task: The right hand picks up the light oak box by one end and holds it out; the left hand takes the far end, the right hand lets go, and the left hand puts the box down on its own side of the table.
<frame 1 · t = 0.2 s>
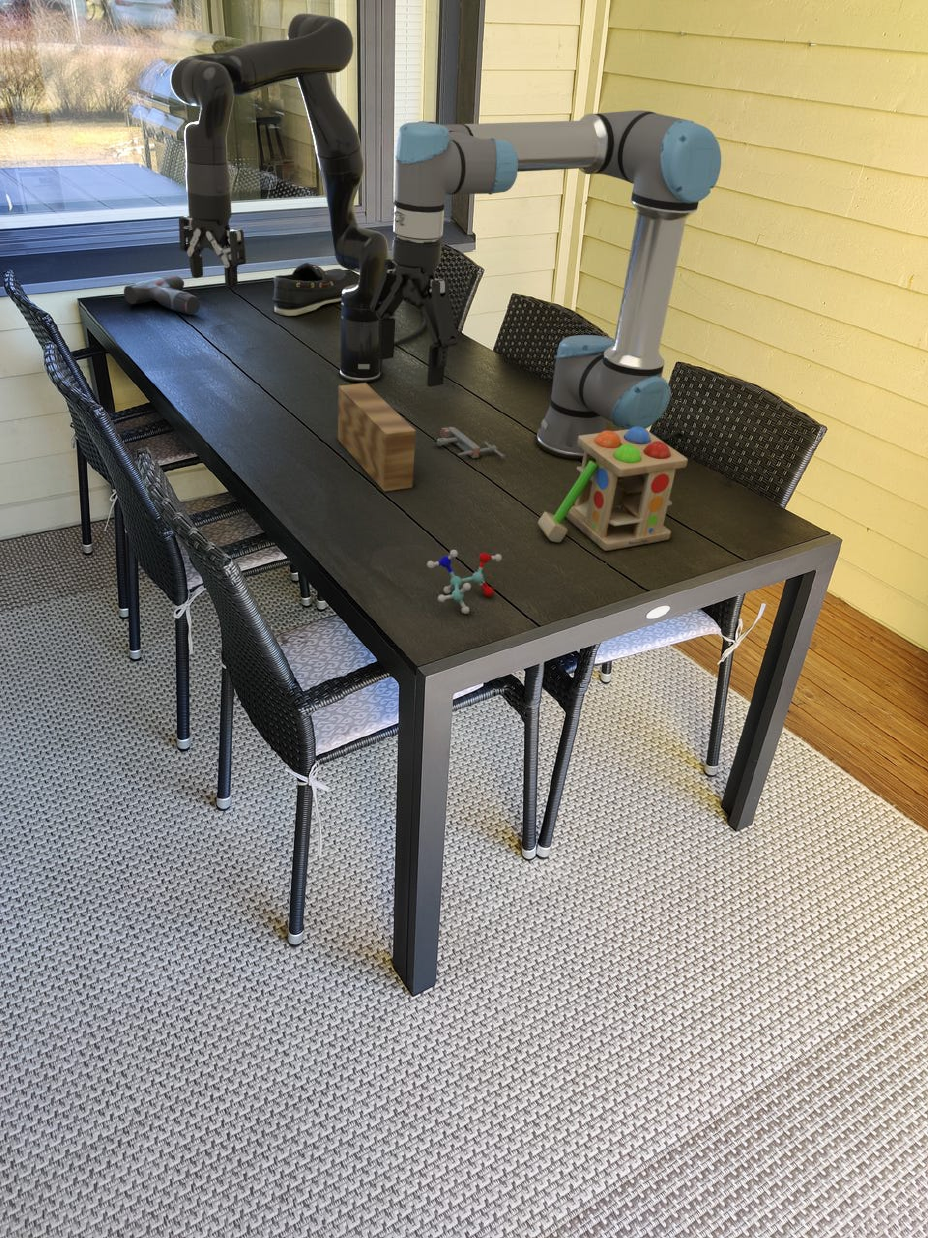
left hand: (214, 281, 182), 30 cm above the table, tool pointing down, fingers open, 8 cm apart
right hand: (409, 371, 161), 27 cm above the table, tool pointing down, fingers open, 13 cm apart
molecular model: (459, 598, 156), on the table
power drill: (177, 304, 264), on the table
clamp: (466, 451, 202), on the table
boat shoe: (313, 301, 276), on the table
pounding bench toy: (596, 531, 178), on the table
box: (373, 462, 194), on the table
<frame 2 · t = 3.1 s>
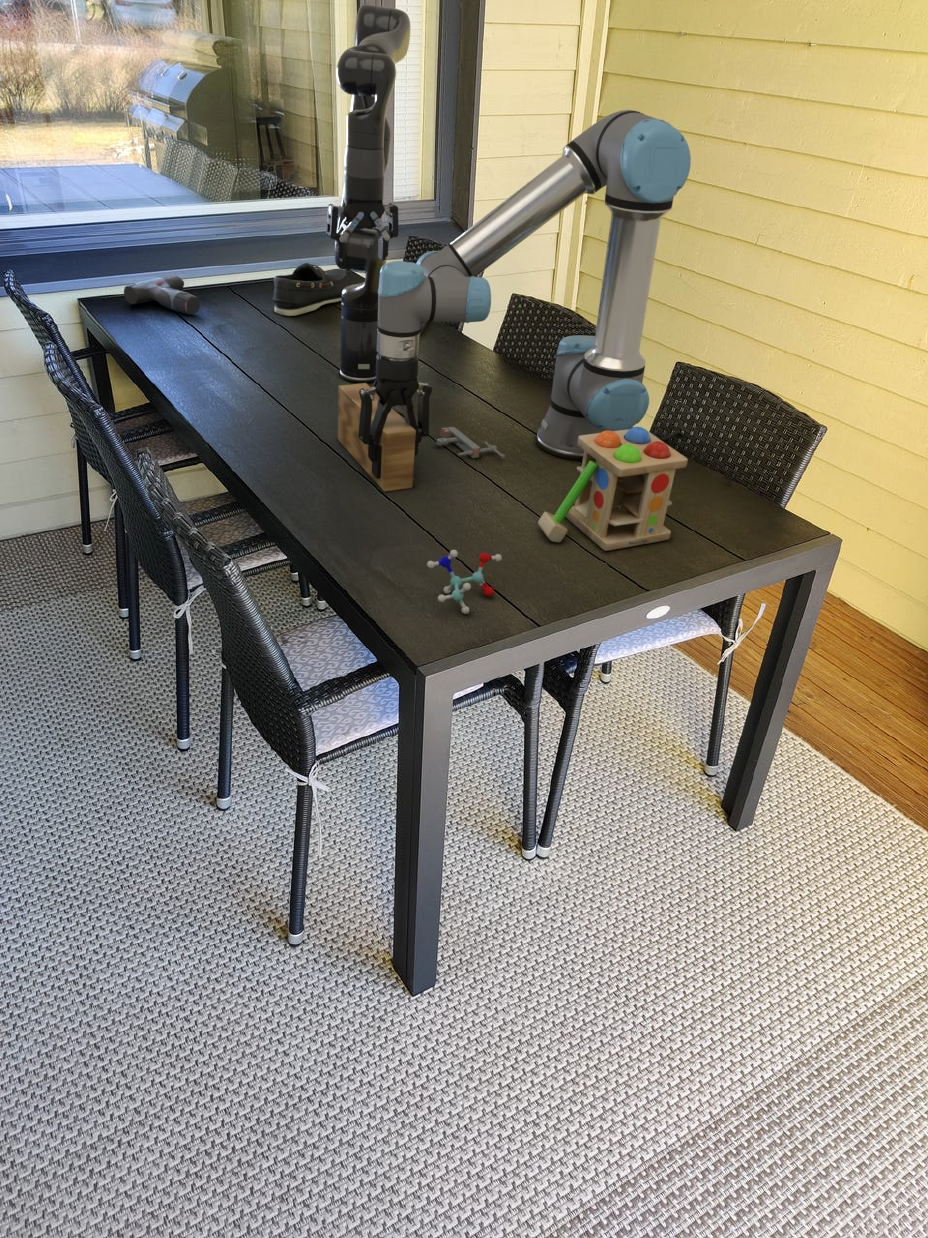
left hand: (362, 259, 196), 32 cm above the table, tool pointing down, fingers open, 8 cm apart
right hand: (392, 472, 186), 2 cm above the table, tool pointing down, fingers closed on box, 6 cm apart
box: (373, 462, 194), on the table, touching right hand
everything else where it was.
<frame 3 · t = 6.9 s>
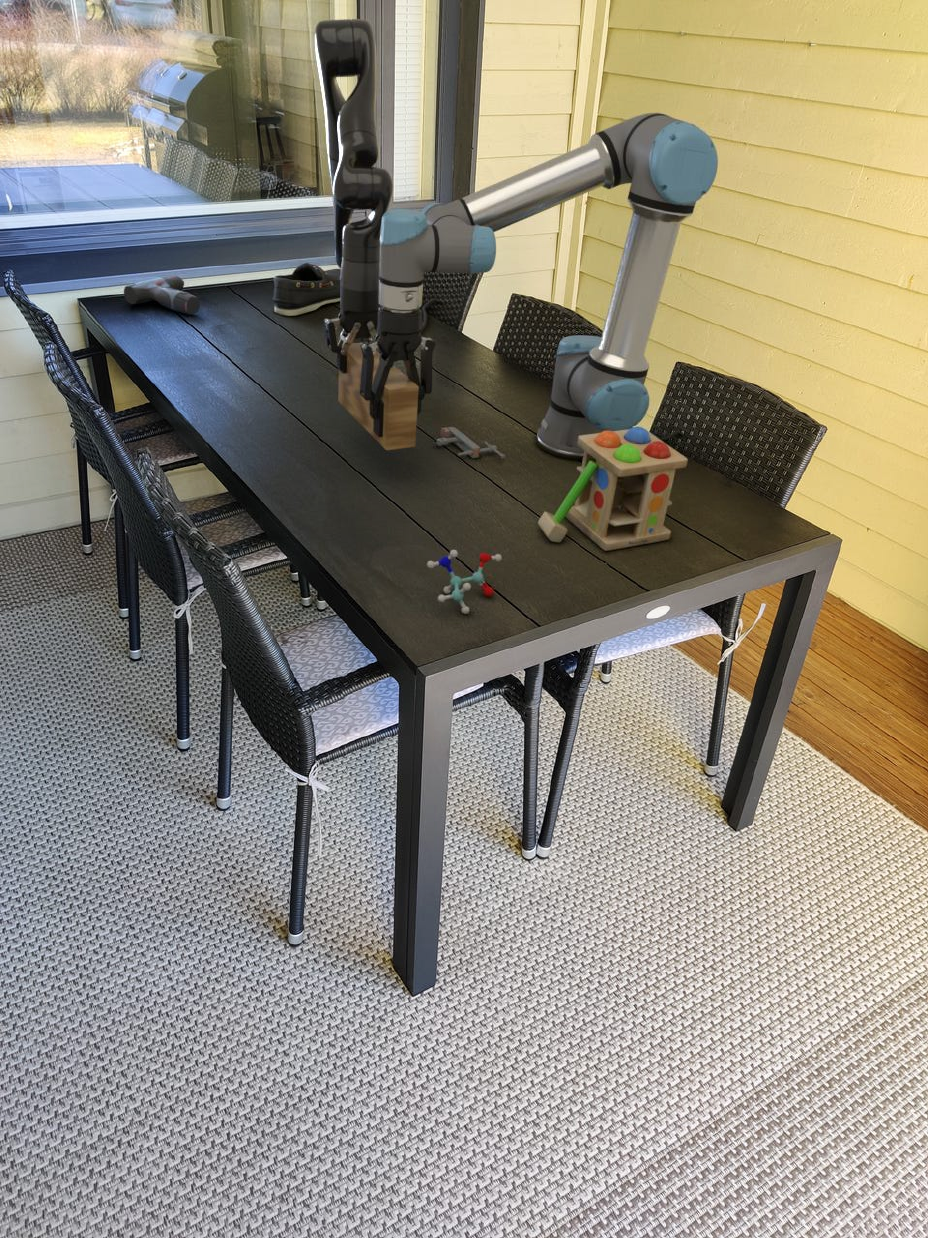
left hand: (358, 370, 191), 16 cm above the table, tool pointing down, fingers closed on box, 6 cm apart
right hand: (394, 431, 182), 10 cm above the table, tool pointing down, fingers closed on box, 6 cm apart
box: (375, 422, 189), point 8 cm above the table, touching left hand, right hand
everything else where it was.
when the right hand's fingers open (10 cm above the table, at t = 7.9 s): box stays where it is, held by the left hand.
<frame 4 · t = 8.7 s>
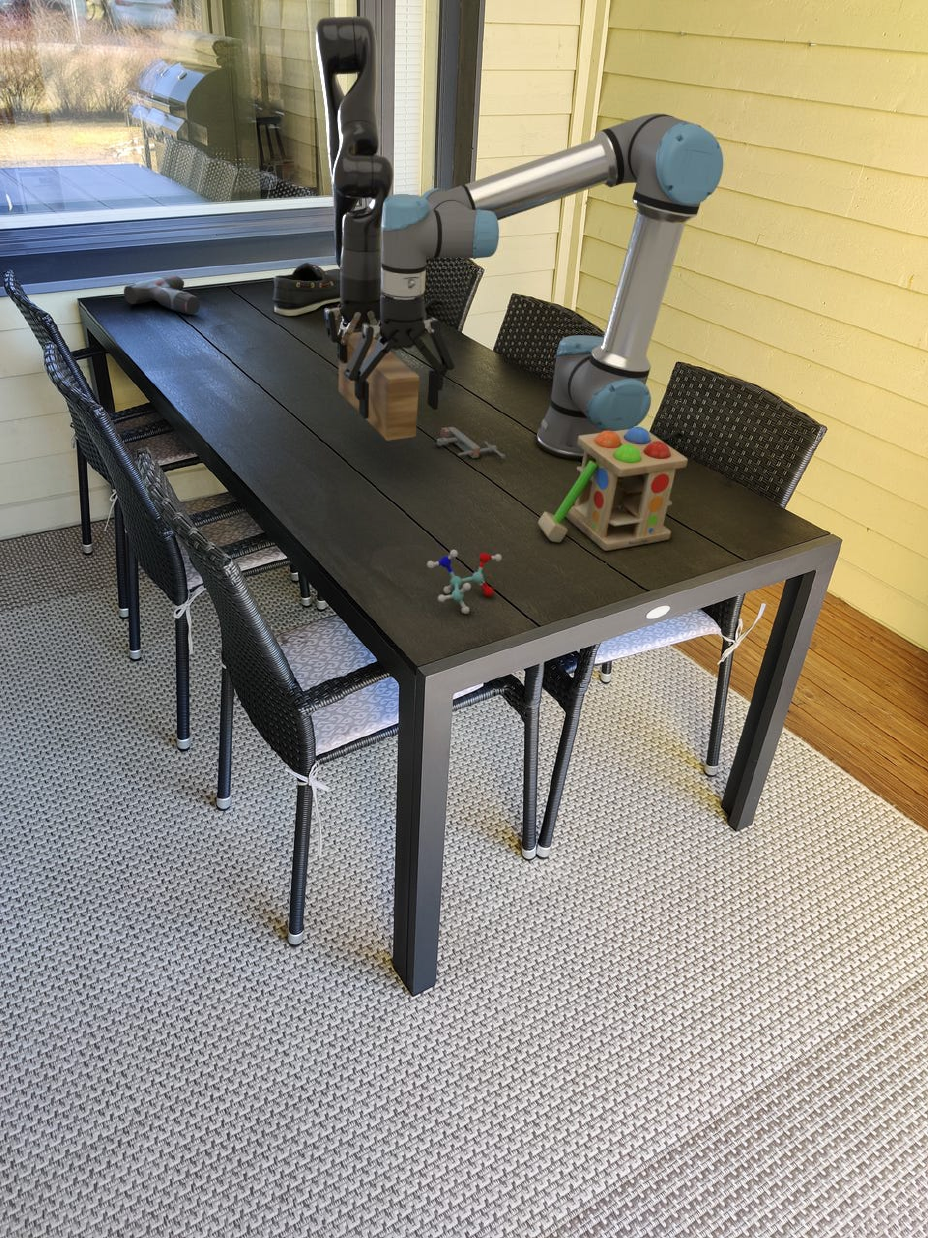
left hand: (359, 360, 190), 18 cm above the table, tool pointing down, fingers closed on box, 6 cm apart
right hand: (398, 411, 179), 15 cm above the table, tool pointing down, fingers open, 13 cm apart
box: (375, 413, 188), point 10 cm above the table, touching left hand
everything else where it was.
when the left hand's fingers open (9 cm above the table, at t = 16.1 s): box drops 2 cm, on the table.
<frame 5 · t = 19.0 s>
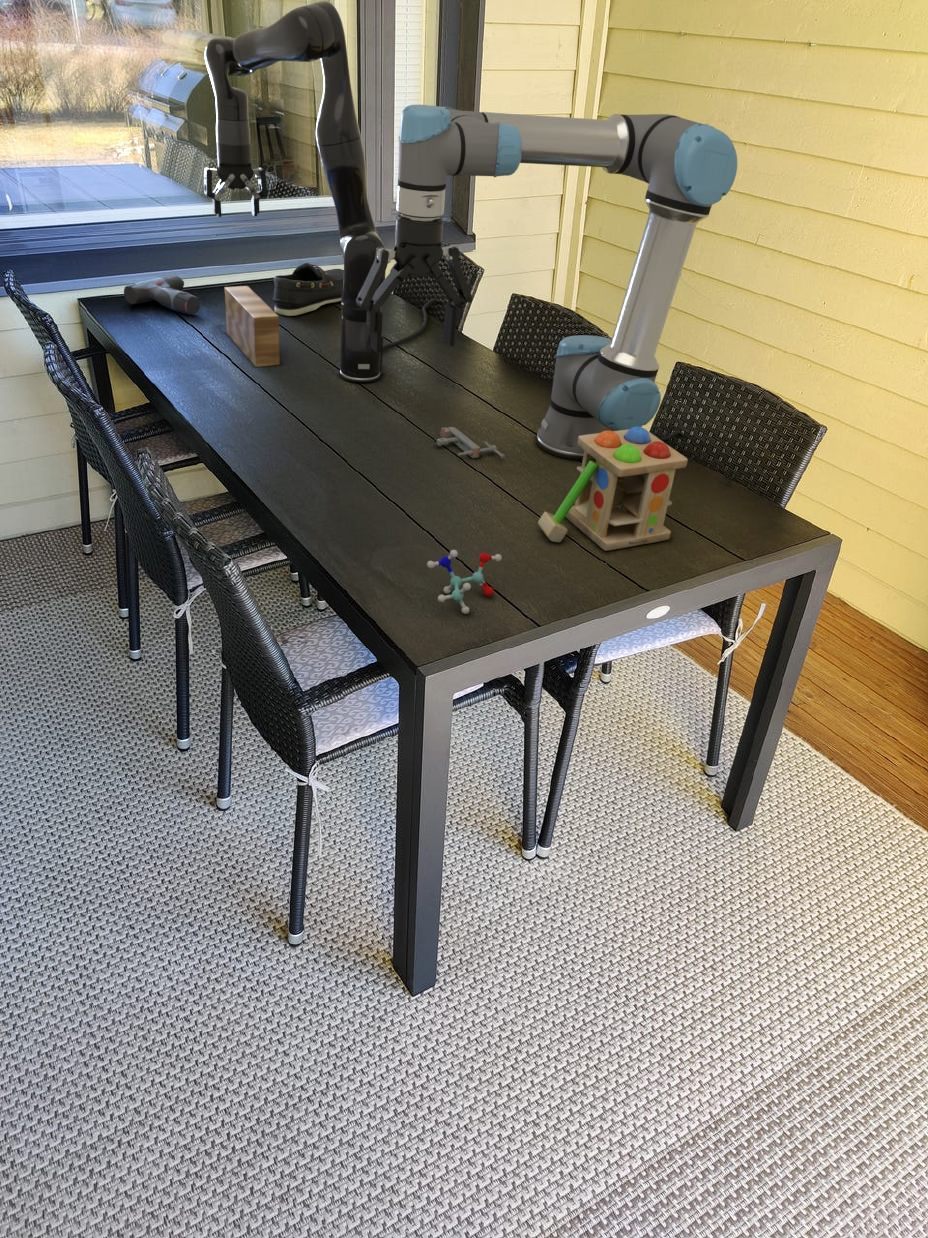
left hand: (236, 215, 231), 29 cm above the table, tool pointing down, fingers open, 8 cm apart
right hand: (412, 346, 167), 28 cm above the table, tool pointing down, fingers open, 13 cm apart
box: (252, 348, 241), on the table
everything else where it was.
at the end: box inside the target area (8.7 cm from its centre), on the table; the left hand is holding nothing; the right hand is holding nothing; box at rest at the end (0.0 cm/s) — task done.
